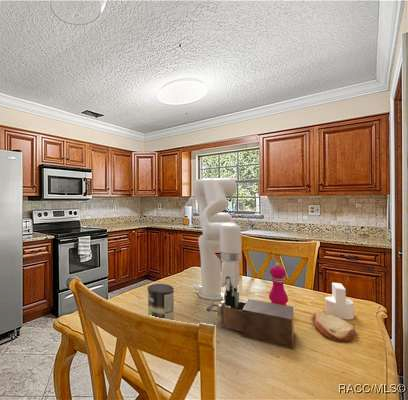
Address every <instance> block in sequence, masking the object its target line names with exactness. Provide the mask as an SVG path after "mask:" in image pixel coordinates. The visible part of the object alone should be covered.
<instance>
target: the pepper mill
mask: <svg viewBox="0 0 408 400" xmlns="http://www.w3.org/2000/svg"><path fill="white" fill-rule="evenodd" d="M274 265H275V266H271V267H270V269H269V274H270V275H271V277H270V278H271V281H272V287H271V289H270V292H269V294H268V298H269V300H270V303H275V304H281V305H286V306H288V305H287V303H288V302H289V297H288V294H287V291H286V289H285V287H284V286H285V285H284V282H285V277H286V275H287V272H286V270H285V268H284V267H282V266H281V264H280V263H279V262H276V263H275V264H274Z"/></svg>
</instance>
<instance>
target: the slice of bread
mask: <svg viewBox="0 0 408 400" xmlns="http://www.w3.org/2000/svg"><path fill="white" fill-rule="evenodd" d="M313 324H314V327H315V328H316V329H317V330H318V331H319V332H320V333H321V334H322V335H324V336H325V337H327V338H329V339H330V340H333V341H335V342H338V343H339V342H340V343H349V342H350V341H351V340H354V339H356V337H357V333H356V329H355V327H354V325H353V324H351V323H350V322H348V321H346V320H345V319H341V318H338V317H336V316H334V315H331V314H327V313H326V312H324V311H320V310H319V311H318V310H316V311H315V312H314V314H313Z"/></svg>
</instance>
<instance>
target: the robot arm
mask: <svg viewBox="0 0 408 400" xmlns="http://www.w3.org/2000/svg"><path fill="white" fill-rule="evenodd" d="M192 190H193V196H194V198H195V200H196V203H197V206H198V218H199V225H200V228H201V233H202V234H201V235H200V236H198V239H197V240H198V241H197V242H198V248H199V256H200V283H201V284H199V285H198V284H193V289H194V290H195V291H198V292H197V295H198V296H199V297H200V298H202V299H204V300H205V299H206V300H210V301H219V300H223V299H224V293H225V292H226V306H228V307H229V308H230V307H235V296H234V292H238V285H239V284H240V263H241V262H243V258H242V257H243V256H242V255H243V254H242V228H241V226H240V225H239V224H237V223H235V222H234V219H233V217H232V215H231V213H228V212H223V211H225V210H226V209H227V208H228V206H229V203H228V199H227V197H228V196H235V195H236V193H237V192H238V186H237V182H236V181H235V179H234V178H232V177H205V178H198V179H196V180H195V181H194V182H193V185H192ZM216 253H217V254H218V253H219V256H217V254H216ZM222 288H225V292H222Z"/></svg>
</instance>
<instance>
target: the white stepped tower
mask: <svg viewBox="0 0 408 400" xmlns="http://www.w3.org/2000/svg"><path fill="white" fill-rule="evenodd" d="M346 291H347V289H346V287H345V286H344V285H343V284H342V283H340V282H331V294H332V295H330V296H329V295H328V296H324V305H325V307H324V308H325V309H324V311H325V312H324V313H327V314H331V315H334V316H336V317H338V318H341V319H343V320H353V319H354V318H355V309H354V308H355V307H354V301H353V300H351V299H348V298H347V295H346V294H347V293H346Z"/></svg>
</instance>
